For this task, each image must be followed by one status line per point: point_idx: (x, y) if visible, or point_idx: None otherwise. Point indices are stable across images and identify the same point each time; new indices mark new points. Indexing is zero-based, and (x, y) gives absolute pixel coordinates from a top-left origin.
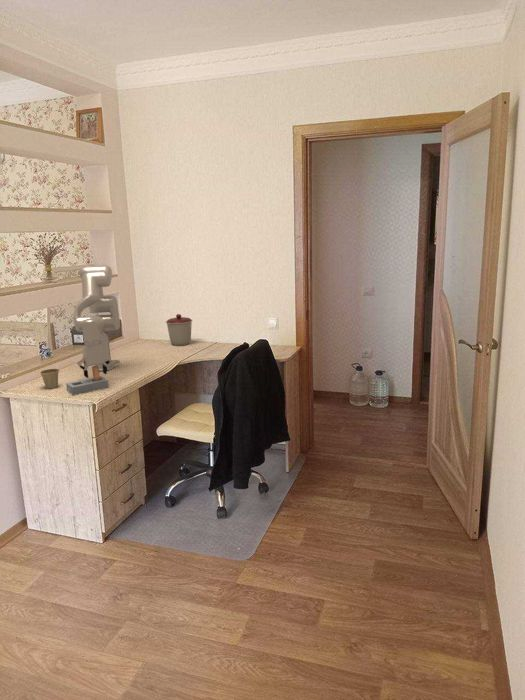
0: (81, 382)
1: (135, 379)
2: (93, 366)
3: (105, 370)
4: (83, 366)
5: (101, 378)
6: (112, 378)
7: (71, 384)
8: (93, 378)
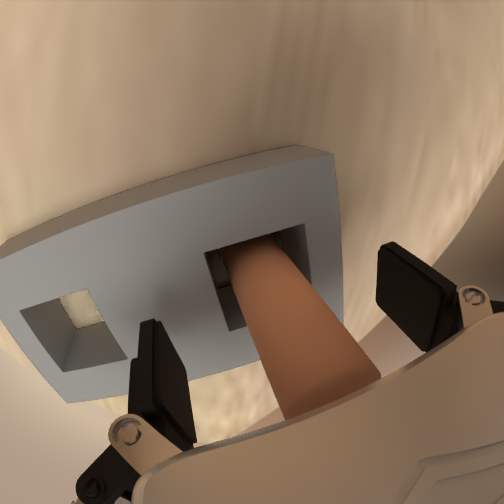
0: (104, 317)
1: (468, 191)
2: (318, 391)
3: (402, 326)
4: (132, 466)
5: (318, 259)
6: (393, 58)
7: (29, 335)
8: (237, 297)
